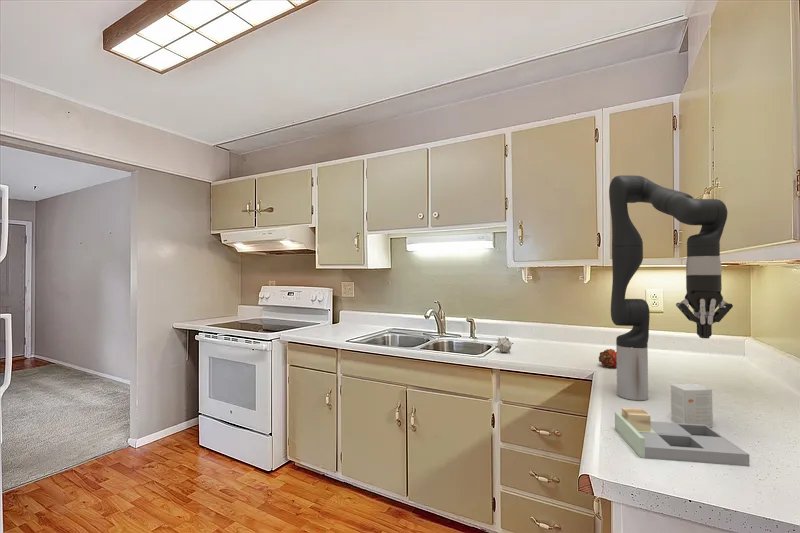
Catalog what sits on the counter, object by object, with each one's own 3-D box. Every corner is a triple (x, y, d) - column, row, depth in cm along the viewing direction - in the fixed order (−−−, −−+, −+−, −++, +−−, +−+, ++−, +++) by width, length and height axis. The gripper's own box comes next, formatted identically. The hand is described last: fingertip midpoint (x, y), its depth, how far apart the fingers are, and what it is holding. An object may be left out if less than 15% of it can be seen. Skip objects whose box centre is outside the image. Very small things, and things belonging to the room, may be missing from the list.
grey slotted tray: (614, 428, 108) (614, 411, 108) (705, 434, 104) (705, 416, 104) (640, 457, 91) (639, 438, 91) (749, 465, 87) (749, 445, 87)
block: (621, 422, 105) (621, 407, 106) (642, 423, 105) (642, 408, 105) (629, 430, 101) (628, 414, 101) (650, 431, 100) (650, 415, 100)
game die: (508, 360, 205) (516, 346, 200) (492, 354, 205) (500, 340, 200) (507, 348, 213) (515, 335, 207) (492, 343, 213) (500, 329, 207)
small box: (697, 419, 114) (696, 383, 114) (713, 427, 108) (713, 389, 108) (670, 420, 113) (669, 383, 113) (684, 428, 108) (684, 389, 108)
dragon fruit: (607, 373, 170) (608, 371, 180) (625, 363, 167) (625, 361, 178) (594, 356, 173) (596, 354, 184) (612, 345, 171) (612, 345, 181)
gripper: (722, 273, 108) (723, 336, 108) (669, 273, 111) (670, 335, 111) (740, 273, 101) (741, 341, 101) (682, 273, 103) (683, 339, 103)
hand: (704, 337), depth 106 cm, fingers closed
